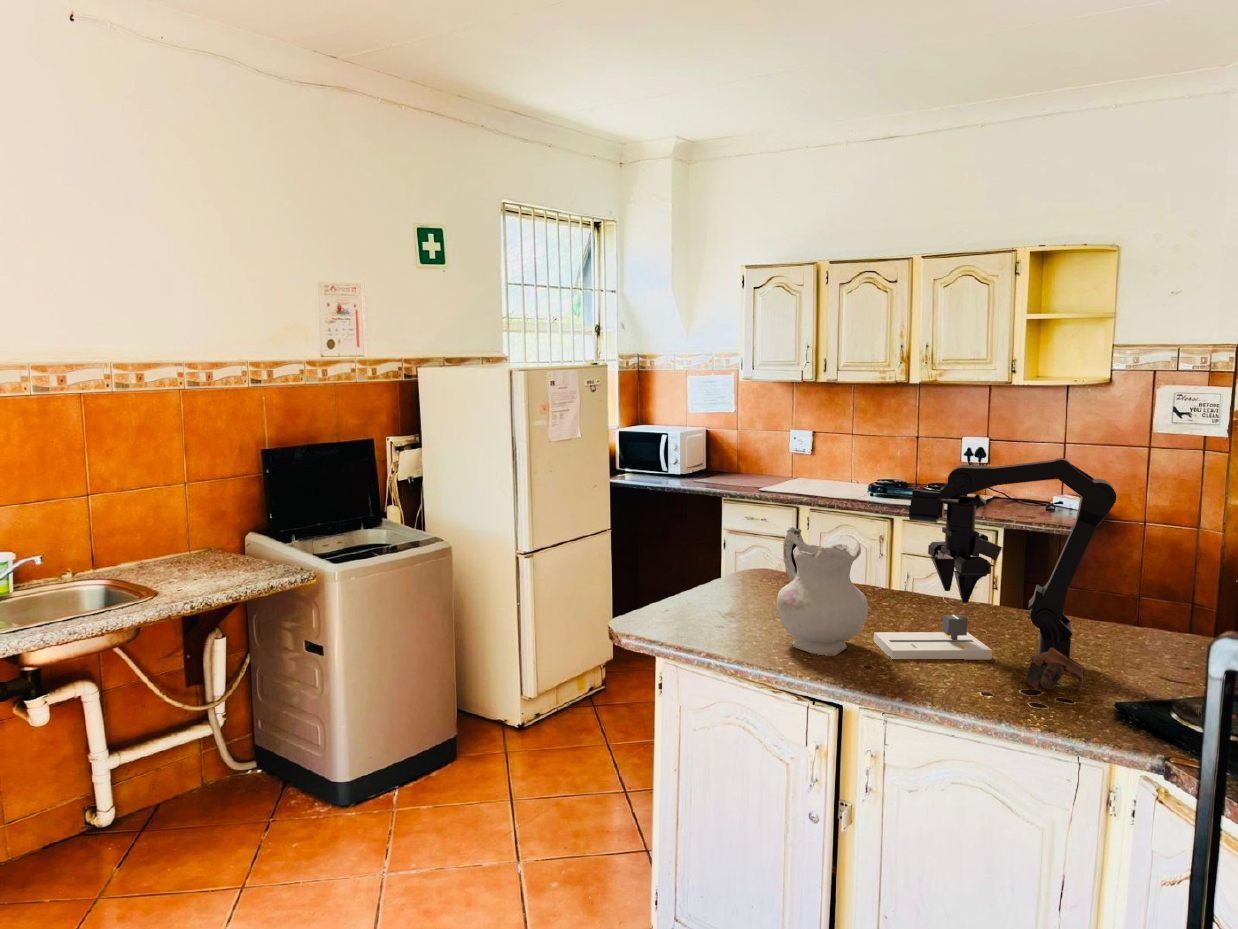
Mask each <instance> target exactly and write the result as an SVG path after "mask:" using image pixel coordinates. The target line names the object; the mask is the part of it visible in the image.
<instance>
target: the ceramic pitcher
mask: <svg viewBox="0 0 1238 929" xmlns="http://www.w3.org/2000/svg"><path fill="white" fill-rule="evenodd" d="M802 531H803V530H802V529H800V528H795V527H788V529H787V530H786V534H785V535H784V540H783V544H782V545H783V547H782V549H783V550H782V552H783V553H782V555H783V563H784V567H785V573H786V575H787V577H788V578H789V581H790V582H789V583H787V584H786V585H785V586H783V587H782V588H781V589H780V590H779V591H778V594H777V598H776V609H777V615H778V618H779V621H780V624H781V625H782V626H783V628H784V629H785V630H786V631H787V632H788V633H789V634H790V635H791V636H793V637H795V639H794V640H795V641H794V640H793V641H792V644H793V646H792V645H791V646H792V648H796V649H798V650H801V651H803V652H807V653H810V654H813V655H816V654H817V655H816V656H819V655H825V656H824V657H835V656H837V655H839V653H842V652H843V651H844V650H846V649H847V648H848V647H847V644H846V641H848V640H850V639H852V638H854V637H855V636H856V635H857V634H858V633H860V631H861V630H862V629H863V627H864V625H865V624H866V620H867V616H868V614H869V603H868V599H867V596H866V595H865V594H864V593H863V592H862V591H861V590H860V589H859V588H858V587H857V586H856V585H855V584H853V582H852V580H851V575H850V574H851V568H852V565H853V563H854V561H857V559H858V557H860V555H861V554H862V549H861V548H862V547H861V543H859V542H856V544H855V545H854V547H853V548H850V547H849V546H848V544H843V543H842V544H840V543H839V544H833V545H829V546H821V545H817V544H816V545H815V544H808V543H806V542H805V541H804V538H803V536H802V534H801V533H802ZM794 545H796V546H795V548H793V546H794ZM792 549H793V550H792ZM792 554H793V558H794V561H795V564H796V567H795V566H794V563H793V562H794V561H793V559H792Z"/></svg>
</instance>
